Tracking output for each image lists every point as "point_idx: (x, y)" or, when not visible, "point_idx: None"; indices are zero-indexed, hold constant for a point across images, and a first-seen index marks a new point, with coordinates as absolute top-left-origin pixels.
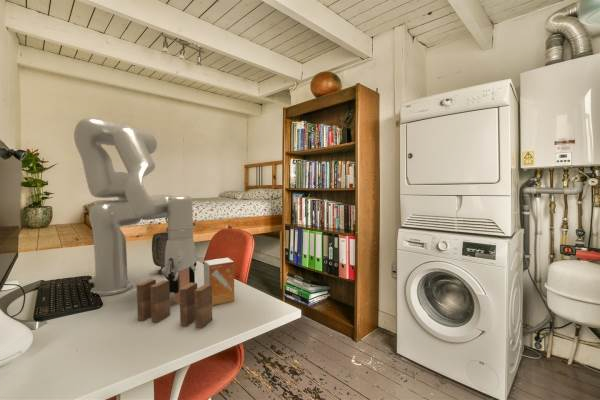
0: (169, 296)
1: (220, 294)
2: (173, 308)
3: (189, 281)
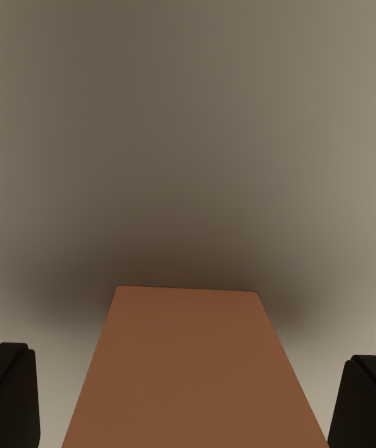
0: None
1: None
2: None
3: (345, 426)
